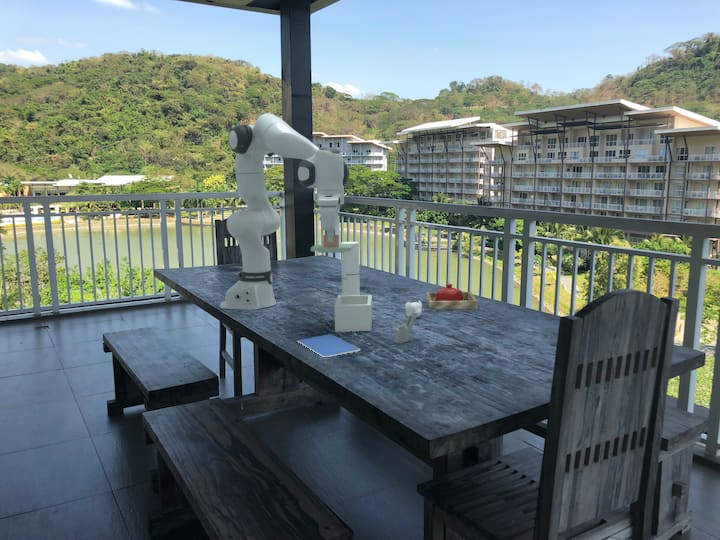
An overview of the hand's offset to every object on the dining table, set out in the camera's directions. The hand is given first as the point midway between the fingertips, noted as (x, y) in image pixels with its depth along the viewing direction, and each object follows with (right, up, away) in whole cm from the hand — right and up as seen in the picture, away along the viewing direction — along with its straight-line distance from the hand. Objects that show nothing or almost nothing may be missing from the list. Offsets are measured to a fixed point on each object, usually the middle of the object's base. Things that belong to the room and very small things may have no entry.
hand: (330, 241), depth 180 cm
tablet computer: (0, -33, -12) cm, 36 cm away
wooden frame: (+46, -23, +40) cm, 65 cm away
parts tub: (+8, -29, +11) cm, 31 cm away
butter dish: (+45, -23, +40) cm, 65 cm away
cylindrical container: (+6, -23, +43) cm, 50 cm away
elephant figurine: (+29, -27, +21) cm, 45 cm away
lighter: (+24, -32, -9) cm, 41 cm away
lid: (0, -2, +7) cm, 7 cm away
